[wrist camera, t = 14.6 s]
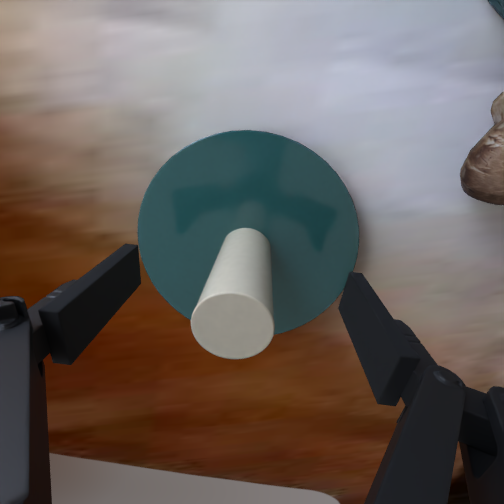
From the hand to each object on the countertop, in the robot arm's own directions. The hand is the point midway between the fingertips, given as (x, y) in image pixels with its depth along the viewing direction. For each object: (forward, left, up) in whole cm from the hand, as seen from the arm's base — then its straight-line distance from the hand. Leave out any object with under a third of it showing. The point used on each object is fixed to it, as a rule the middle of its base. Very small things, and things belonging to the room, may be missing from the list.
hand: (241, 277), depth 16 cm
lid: (0, 0, -5) cm, 5 cm away
